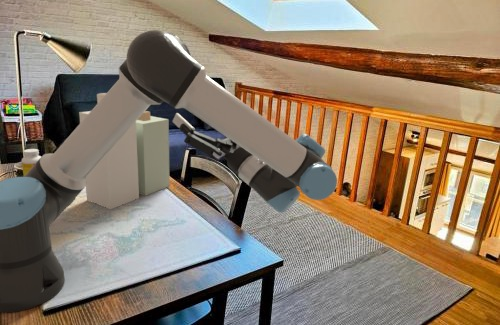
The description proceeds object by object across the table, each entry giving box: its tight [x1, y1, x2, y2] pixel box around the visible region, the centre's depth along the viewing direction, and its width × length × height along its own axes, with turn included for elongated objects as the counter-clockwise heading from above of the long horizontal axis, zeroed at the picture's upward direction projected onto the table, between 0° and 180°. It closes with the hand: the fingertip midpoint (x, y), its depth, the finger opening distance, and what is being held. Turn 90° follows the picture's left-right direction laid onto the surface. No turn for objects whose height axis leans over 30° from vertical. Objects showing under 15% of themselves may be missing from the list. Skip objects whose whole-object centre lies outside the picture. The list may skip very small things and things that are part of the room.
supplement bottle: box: [21, 148, 42, 177], centre depth 132 cm, size 7×7×13 cm
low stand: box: [136, 115, 171, 196], centre depth 133 cm, size 12×12×26 cm
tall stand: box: [78, 110, 140, 210], centre depth 120 cm, size 12×12×30 cm
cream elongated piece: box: [96, 92, 151, 121], centre depth 111 cm, size 20×8×6 cm, turn 58°
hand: (192, 114), depth 99 cm, fingers open, 13 cm apart
